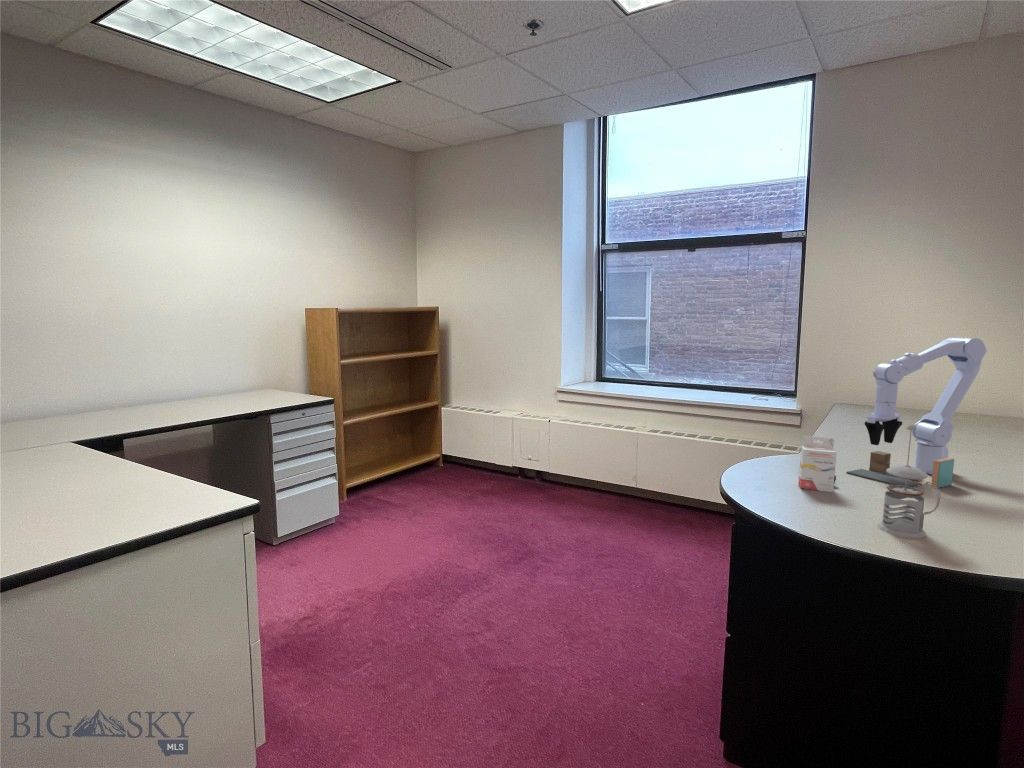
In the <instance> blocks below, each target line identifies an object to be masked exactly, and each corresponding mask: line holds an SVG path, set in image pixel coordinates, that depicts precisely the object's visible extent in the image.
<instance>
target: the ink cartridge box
mask: <svg viewBox="0 0 1024 768" xmlns="http://www.w3.org/2000/svg"><path fill="white" fill-rule="evenodd" d="M814 441H819V442H814ZM821 442H822V443H821ZM834 442H835V439H834V438H833V437H824V436H823V437H821V436H810V435H809V436H807V435H804V436H803V437H802V445H801V448H800V449H801V450H800V463H799V472H798V473H799V474H798V482H797V483H798V487H799V488H800V489H801V488H804V489H803V490H809V489H811V490H810V491H818V490H819V491H821V492H828V493H833V492H834V485H835V483H834V476H836V475H835V473H836V463H837V451H836V450H835V449H834V444H835V443H834Z"/></svg>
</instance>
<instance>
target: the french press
mask: <svg viewBox="0 0 1024 768" xmlns="http://www.w3.org/2000/svg"><path fill="white" fill-rule="evenodd" d="M914 425H915V424H908V425H906V428H905V429H906V430H907V431H910V433H909V441H908V454H907V463H906V464H905V465H902V464H899V465H896V466H892V467H890V468H888V469H887V470H886V471H887V473H888V474H890V475H889V476H892V475H893V477H897V478H902V479H905V478H906V481H905V486H904V485H903V486H902V485H900V486H899V485H890V484H889V485H888V486H886V489H887V490H888V491H885V493H884V500H883V512H882V521H880V522H879V523H877V524H876V527H877V528H878V529H879V530H881V531H882V532H884V533H887V534H891V535H895V536H898V537H902V538H903V537H904V538H912V539H913V538H914V539H916V538H917V539H918V538H920V539H921V538H924V537H927V532H926V531H925V530H924V522H925V521H924V519H925V515H930V514H932V513H934V512H935V511H936V510H937V509H938V508H939V506H940V503H941V498H942V497H941V496H942V495H941V493H940V491H939V488H937V487H936V486H935V485H933V484H932V483H931V482H930V481H927V482H925V483H924V485H923V488H924V489H927V488H928V486H929V487H931V488H932V489H933V490H934V491H935V494H936V497H937V501H936V505H935V507H934V508H933V509H932V510H929V511H925V512H924V509H925V497H923V495H924V494H925V492H924V490H922V489H919V488H917V487H909V486H908V487H907V486H906V482H907V480H909V479H922V480H924V479H927V478H928V477H929V474H928V473H925V472H923V471H921V470H920V469H918V468H916V467H914V466H910V465H909V462H910V461H909V459H910V450H911V441H912V430H916V426H914ZM888 474H887V475H888ZM931 484H932V485H933V486H934V487H935V488H933V487H932V486H931ZM907 498H908V500H905V499H907ZM910 499H915V500H916V501H915V500H910ZM901 505H902V506H901ZM892 506H899V507H892ZM896 511H899V512H896ZM899 516H900V517H899Z"/></svg>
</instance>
